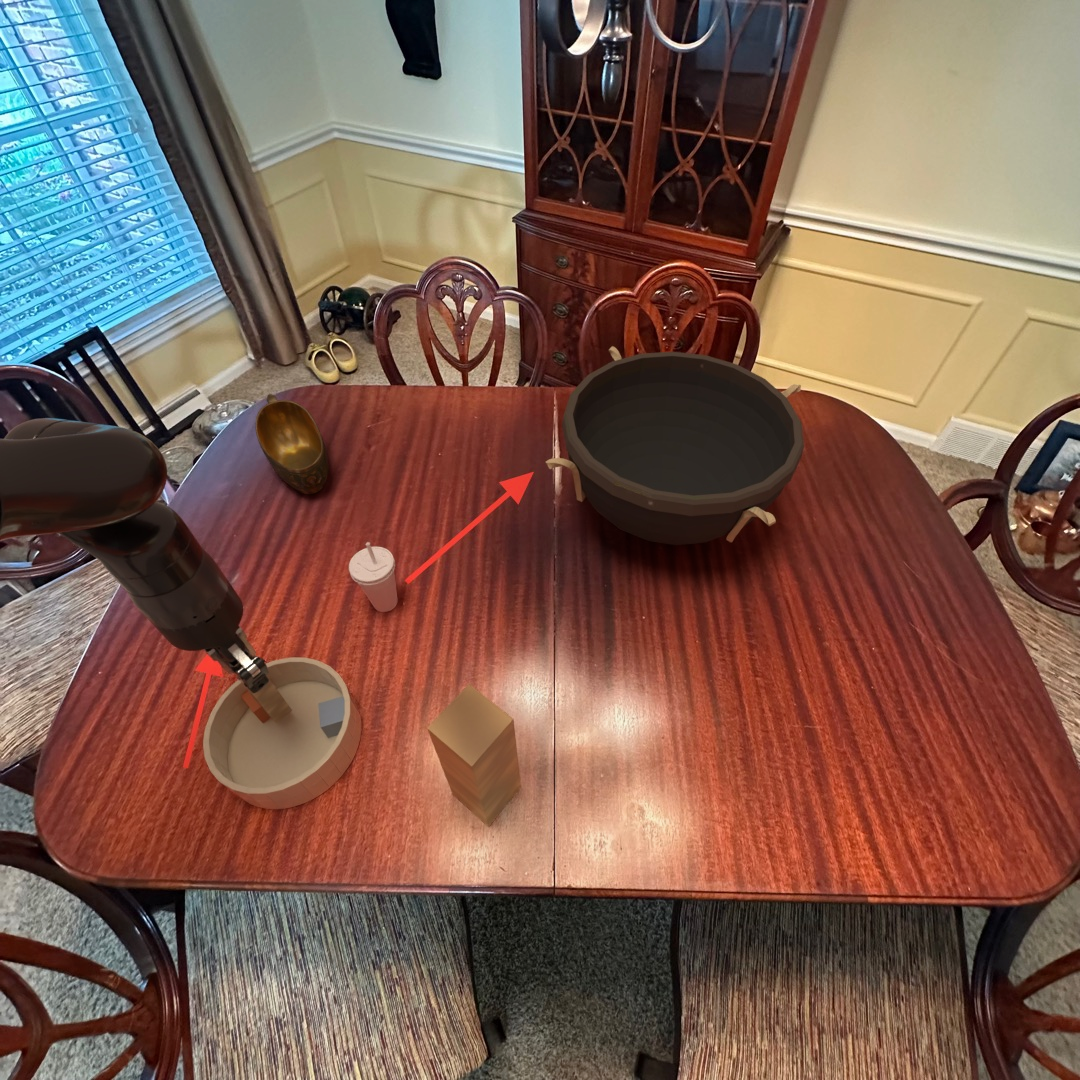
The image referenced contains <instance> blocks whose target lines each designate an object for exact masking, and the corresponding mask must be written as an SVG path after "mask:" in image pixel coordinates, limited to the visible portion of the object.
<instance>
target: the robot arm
mask: <svg viewBox="0 0 1080 1080" xmlns="http://www.w3.org/2000/svg"><path fill="white" fill-rule="evenodd" d="M167 480H168V467H167V463H166V460H165V457H164V455H163V453H162V452H161V450H160V449H159V447H157V445H156V444H155V443H154V442H153V441H152V440H150V439H149V438H147V437H146V436H145V435H143V434H141V433H139V432H137V431H135V430H133V429H130V428H125V427H122V426H117V425H109V424H101V423H95V422H94V423H93V422H87V421H86V422H85V421H79V420H73V419H72V420H71V419H64V418H55V417H45V418H44V417H43V418H34V419H30V420H27V421H24V422H22V423H21V422H20V423H19V424H18V425H15V426H14V427H13V428H11V430H9V431H8V433H7V434H6V435H5V436H4V438H0V542H2V541H6V540H10V539H16V538H22V537H30V536H31V537H32V536H41V535H51V534H52V535H53V534H59V535H61V536H62V537H63V538H65V540H67V541H69V542H70V543H72V544H73V545H74V546H76V547H78V548H80V549H82V550H83V551H85V552H87V553H89V554H90V555H91V556H93V557H94V558H95V559H97V560H98V561H99V562H100V563H101V565H102V566H103V567H104V568H105V570H106V571H107V572H108V573H109V574H110V575H111V576H112V578H114V579H115V580H116V582H117V583H118V584H119V585H120V586H121V587H122V588H123V589H124V590H125V592H126V593H127V595H128V596H129V598H130V600H131V601H132V603H133V604H134V606H136V608H137V609H138V611H139V612H141V613H142V615H144V617H145V618H146V619H147V620H148V621H149V622H150V623H151V624H152V625H153V626H154V627H155V628H156V630H158V632H159V633H160V634H161V635H162V636H163V638H165V639H166V641H167V642H169V644H170V645H172V646H173V647H175V648H176V649H178V650H182V651H187V652H198V651H204V652H205V653H206V654H207V656H209V657H210V658H211V660H213V661H214V662H217V663H218V665H220V666H221V668H222V669H223V670H224V671H226V673H227V674H230V675H232V674H233V675H234V673H235V674H236V676H237V677H236V676H235V677H236V679H237V680H239V681H240V680H241V681H242V682H243V683H244V685H245V686H246V687H248V689H249V690H250V691H251V692H252V693H256V692H258V691H260V690H261V689H262V688H263V687H264V686H266V685H267V684H268V682H269V679H268V678H267V676H266V675H267V674H268V673H269V672H268V669H267V666H266V660H265V659H264V658H261V657H260V656H258V655H257V650H256V649H255V648H254V647H253V645H252V644H251V643H250V642H249V640H248V639H247V638H248V635H247V633H246V632H245V631H244V630H243V628H242V627H241V626H240V623H241V621H242V618H243V615H244V603H243V601H242V599H241V597H240V595H238V592H237V591H236V590H235V588H234V587H233V586H232V584H231V583H230V581H229V580H228V578H227V576H226V575H225V574H224V572H223V570H222V569H221V568H220V566H219V565H218V563H217V562H216V561H215V560H214V558H213V557H212V556H211V554H210V553H208V552H207V551H206V550H205V548H204V547H202V545H201V544H200V542H199V541H198V540H197V538H196V536H195V535H194V534H193V532H192V531H191V529H190V528H189V526H188V524H186V522H185V521H184V520H183V518H182V517H181V515H179V513H177V511H176V510H174V509H173V508H171V507H170V506H168V505H166V504H164V503H162V502H160V501H158V500H159V498H161V496H162V494H163V492H164V490H165V488H166V486H167V485H166V484H167ZM223 658H224V659H225V660H226V661H225V660H224V659H223ZM241 666H242V667H241ZM240 667H241V668H240ZM239 668H240V669H239Z"/></svg>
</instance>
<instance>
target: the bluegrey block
mask: <svg viewBox="0 0 1080 1080" xmlns="http://www.w3.org/2000/svg"><path fill="white" fill-rule="evenodd" d="M318 706H319V717H320V727H321V729H322V730H323V732H324V733H325V734H326V736H327V737H328V738H330V737H333V736H336V735H338V734H339V732H340V730H341V727H342V723H343V719H344V714H345V700H344V697H343V696H342V697H339V698H335V699H332V700H328V701H325V702H321V703H318Z"/></svg>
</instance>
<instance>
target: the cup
mask: <svg viewBox="0 0 1080 1080" xmlns="http://www.w3.org/2000/svg"><path fill="white" fill-rule="evenodd" d="M266 401H267V404H265V405H263V406H262V407H261V408H260V409H259V411H258V412H257V414H256V417H255V424H254V425H255V434H256V438H257V442H258V444H259V446H260V449H261V450H262V452H263V455H264V457H265V458H266V460H267V461H268V463H269V464H270V465H271V467H272V469H273V470H274V471H275V473H276V474H277V476H279V478H281V479H282V481H284V483H286V484H287V485H288V486H289V487H291V488H292V489H294V490H295V491H297V492H299V493H301V494H304V495H313V494H317V493H319V492H321V491H322V490H323V489H324V488H325V486H326V484H327V480H328V475H329V458H328V453H327V449H326V446H325V442H324V439H323V436H322V433H321V431H320V429H319V427H318V424H317V423H316V421H315V419H314V418H313V416H312V414H310V412H309V411H308V410H307V409H306V408H305V407H304V405H301V404H300V403H298V402H296V401H292V400H289V399H288V400H287V399H281V400H278V398H277V396H275V395H274V394H272V393H268V394H267V396H266Z"/></svg>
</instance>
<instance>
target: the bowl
mask: <svg viewBox="0 0 1080 1080" xmlns="http://www.w3.org/2000/svg"><path fill="white" fill-rule="evenodd" d="M608 352H609V354H610V356H611V357H612V359H613V360H612V361H610V362H608V363H607V364H605V365H603V366H602V367H600V368H598V369H596V370H594V371H593V372H590V373H588V374H587V375H586V376H585V377H584V378H583V380H582V381H581V382H580V383H579V384H578V385H577V386H576V387H575V389H574V390H572V392H571V393H570V394H569V398H568V400H567V403H566V407H565V411H564V413H563V417H562V424H561V428H562V433H563V439H564V443H565V448H566V452H567V455H568V459H567V458H560V457H552V458H550V459H547V460H546V461H545V465H546V467H547V469H549V470H552V469H556V468H560V467H566V468H567V469H569V470H570V472H571V475H572V479H573V483H574V489H575V495H576V501H579V502H581V503H582V502H584V500H585V499H587V500H588V502H589V503H590V505H591V506H592V507H593V509H595V511H596V512H597V513H598V514H599V515H600V516H602V517H603V518H605V519H606V520H607V521H608V522H610V523H611V525H614V526H615V527H617V528H618V529H619V530H620V531H623V532H625V533H628V534H630V535H632V536H635V537H638V538H639V539H642V540H645V541H646V542H653V543H658V544H665V545H671V546H682V545H692V544H693V545H694V544H706V543H708V542H710V541H714V540H716V539H719V538H722V537H724V536H726V539H725V540H726V541H728V542H729V543H730V544H731V543H733V541H734V540H735V539H736V537H737V535H738V534H739V533H740V532H741V530H742V529H743V528H745V526H747V525H748V524H749V523H751V522H752V521H753V520H754V519H756V518H759V519H760V520H762V522H764V523H765V525H767V526H768V527H771V526H773V525H775V524H776V523H777V521H776V518H775V515H774V514H772V513H771V512H768V511H765V510H766V509H768V508H769V507H770V506H771V505H772V504H773V503H774V501H775V500H777V498H778V497H779V496H780V495H781V493H782V491H783V490H784V488H785V486H786V485H788V484H789V483H791V481H792V479H793V477H794V475H795V473H796V470H797V468H798V466H799V463H800V461H801V459H802V456H803V452H804V449H805V444H804V442H805V441H804V432H803V423H802V421H801V419H800V417H799V415H798V413H797V412H796V411H795V409H794V407H793V406H792V404H791V402H790V400H789V399H788V397H789V396H790V395H794V394H796V393H799V392H801V389H802V385H801V384H795V383H794V384H791V385H790V386H788V387H787V389H785V390H783V391H780V390H779V389H778V388H776V387H775V386H774V385H773V384H771V382H769V381H768V380H767V379H766V378H764V377H762V376H760V375H758V374H756V373H755V372H753V371H751V370H749V369H747V368H745V367H743V366H741V365H739V364H737V363H734V362H731V361H728V360H727V361H726V360H724V359H720V358H716V357H713V356H709V355H707V354H706V355H705V354H698V353H697V354H696V353H688V352H680V351H663V352H662V351H661V352H649V353H648V352H647V353H646V352H645V353H638V354H634V355H631V356H628V357H623V358H622V356H621V353H620V351H619V350H618V349H617V348H616V347H615V346H613V345H612V346H611V347H610V348H609V349H608Z"/></svg>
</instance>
